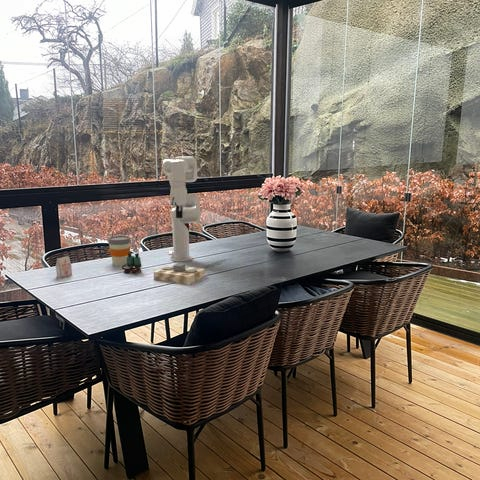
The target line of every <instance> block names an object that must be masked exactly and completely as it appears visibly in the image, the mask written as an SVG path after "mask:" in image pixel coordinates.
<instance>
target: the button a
mask: <svg viewBox="0 0 480 480" xmlns="http://www.w3.org/2000/svg"><path fill="white" fill-rule="evenodd" d="M164 267H165V268H164ZM164 267H162V268H163V269H162V268H161V269H162V270H169V271H170V270H172V269H174V267H167V266H164Z"/></svg>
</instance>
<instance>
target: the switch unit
mask: <svg viewBox="0 0 480 480" xmlns="http://www.w3.org/2000/svg"><path fill="white" fill-rule="evenodd" d="M173 265H174V264H169V265H167V266H164V267H162V268H160V269H157V270H155V271H153V280H157V281H163V282H169V283H178V284H185V285H190V284H192V283H194V282H197V281H199V280H200V279H202V278H205V277H206V272H205V271H206V269H205V268H199V267H191V266H185V271H187V270H197V272H195V273H193V274H192V273H185V271H182V272H176V271H174V269H172V270H170V271H169V270H162V269H163V268H165V267H173Z"/></svg>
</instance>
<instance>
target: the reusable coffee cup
mask: <svg viewBox="0 0 480 480" xmlns="http://www.w3.org/2000/svg"><path fill="white" fill-rule="evenodd" d="M107 244H108V245H109V247H108V250H109V254H110V256H111V261H112V265H115V266H123V265H125V264H126V263H127V257H128V252H130V253H131V237H130V236H127V235H115V236H111V237H108V243H107Z"/></svg>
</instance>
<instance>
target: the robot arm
mask: <svg viewBox="0 0 480 480" xmlns="http://www.w3.org/2000/svg"><path fill="white" fill-rule="evenodd" d="M161 165H162V166H161V167H162V172H163V173H164V174H166V175H168V181H169V185H170V193H169V205H170V206H172V209H171V210H170V220H171V227H172V251H170V250H169V251H168V253H167V255H168V256H171V257H170V260H171V261H172V262H177V263H181V262H183V263H184V262H189V261H191V260H193V257H192V256H191V255H190V231H189V228H188V227H187V226H186V224H197V223H199V222H200V221H201V202H200V197H199V195H198V194H196V193H188V190H187V187H186V183H193V182H196V181H197V178H198V163H197V159H196V158H195V157H194V156H192V155H191V156H189V155H187V156H186V155H185V156H184V155H183V156H182V155H180V156H175V157H172V158H165V159H163V162H162V164H161Z"/></svg>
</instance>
